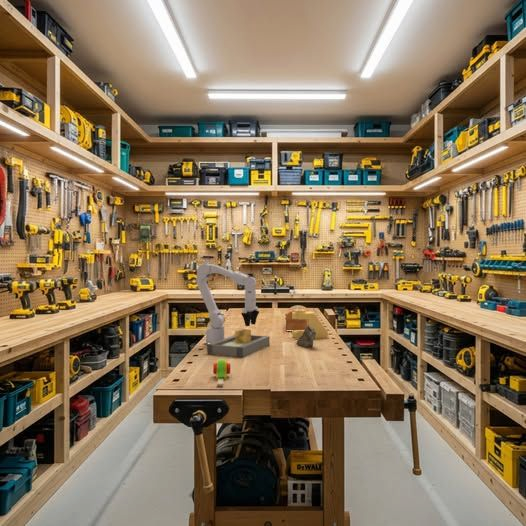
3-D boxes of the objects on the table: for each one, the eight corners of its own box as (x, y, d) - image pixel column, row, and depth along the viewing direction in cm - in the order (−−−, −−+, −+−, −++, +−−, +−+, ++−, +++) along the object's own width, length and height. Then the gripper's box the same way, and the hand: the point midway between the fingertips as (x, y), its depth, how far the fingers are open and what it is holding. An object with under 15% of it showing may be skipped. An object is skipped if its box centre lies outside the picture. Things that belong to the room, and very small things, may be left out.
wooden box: (286, 324, 283) (286, 305, 283) (309, 325, 281) (309, 305, 281) (283, 331, 253) (283, 310, 253) (309, 332, 251) (309, 310, 251)
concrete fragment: (300, 342, 218) (300, 322, 218) (322, 348, 202) (322, 327, 202) (290, 343, 215) (290, 323, 215) (312, 350, 199) (312, 328, 199)
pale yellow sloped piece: (293, 338, 229) (293, 310, 229) (291, 335, 238) (291, 309, 239) (327, 338, 230) (327, 310, 230) (324, 335, 240) (324, 308, 240)
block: (235, 342, 203) (235, 330, 203) (240, 340, 208) (240, 329, 208) (245, 343, 200) (245, 331, 200) (250, 341, 206) (250, 329, 206)
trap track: (207, 353, 191) (207, 344, 191) (237, 342, 219) (237, 334, 219) (242, 357, 183) (242, 347, 183) (269, 345, 211) (269, 336, 211)
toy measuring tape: (231, 372, 159) (230, 355, 159) (228, 387, 139) (228, 368, 139) (214, 372, 158) (214, 356, 158) (210, 387, 139) (210, 369, 139)
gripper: (251, 301, 204) (251, 327, 204) (262, 298, 217) (262, 323, 217) (238, 300, 207) (238, 326, 206) (251, 298, 220) (251, 323, 220)
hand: (250, 325), depth 212 cm, fingers open, 6 cm apart
